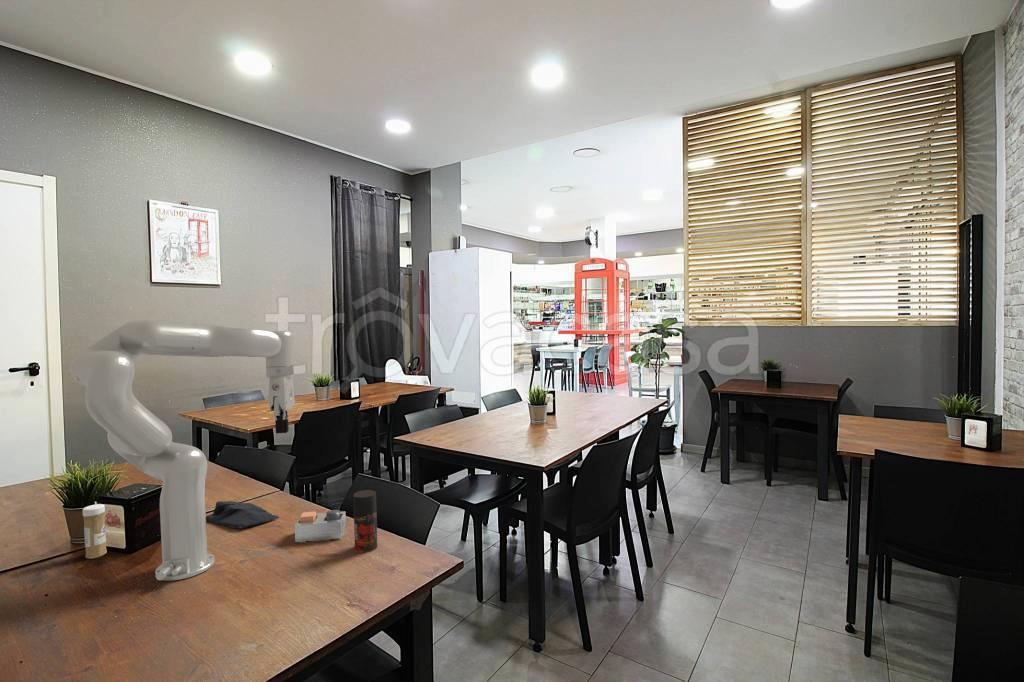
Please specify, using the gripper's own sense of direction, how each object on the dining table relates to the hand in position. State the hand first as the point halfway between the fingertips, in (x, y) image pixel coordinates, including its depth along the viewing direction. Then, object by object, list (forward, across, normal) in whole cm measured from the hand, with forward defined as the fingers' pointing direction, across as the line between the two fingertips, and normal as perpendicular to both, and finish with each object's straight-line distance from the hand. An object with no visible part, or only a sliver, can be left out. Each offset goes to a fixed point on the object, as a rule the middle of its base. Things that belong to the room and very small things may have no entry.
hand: (282, 432), depth 149 cm
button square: (+28, -8, -9) cm, 30 cm away
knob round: (+28, -8, -16) cm, 33 cm away
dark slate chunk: (+30, +10, +16) cm, 35 cm away
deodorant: (+29, -19, -26) cm, 44 cm away
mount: (+29, -8, -12) cm, 32 cm away
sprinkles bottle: (+29, -9, +46) cm, 55 cm away
